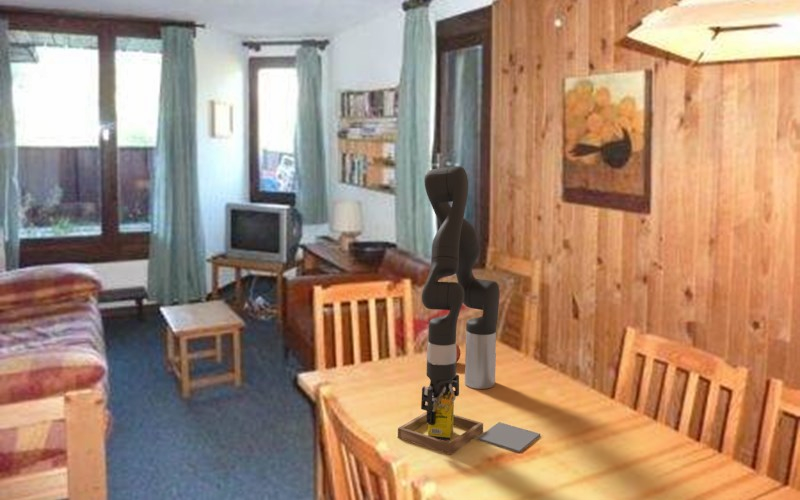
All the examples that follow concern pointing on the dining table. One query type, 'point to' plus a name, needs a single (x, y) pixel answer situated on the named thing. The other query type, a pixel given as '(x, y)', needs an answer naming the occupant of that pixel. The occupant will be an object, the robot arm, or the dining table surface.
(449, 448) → the frame
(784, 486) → the dining table surface
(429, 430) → the supplement box
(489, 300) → the robot arm
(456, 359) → the apple
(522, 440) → the mat
